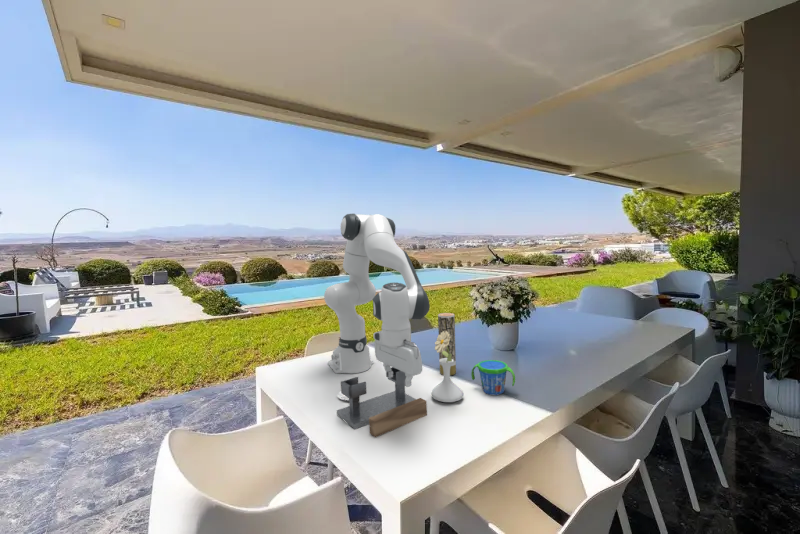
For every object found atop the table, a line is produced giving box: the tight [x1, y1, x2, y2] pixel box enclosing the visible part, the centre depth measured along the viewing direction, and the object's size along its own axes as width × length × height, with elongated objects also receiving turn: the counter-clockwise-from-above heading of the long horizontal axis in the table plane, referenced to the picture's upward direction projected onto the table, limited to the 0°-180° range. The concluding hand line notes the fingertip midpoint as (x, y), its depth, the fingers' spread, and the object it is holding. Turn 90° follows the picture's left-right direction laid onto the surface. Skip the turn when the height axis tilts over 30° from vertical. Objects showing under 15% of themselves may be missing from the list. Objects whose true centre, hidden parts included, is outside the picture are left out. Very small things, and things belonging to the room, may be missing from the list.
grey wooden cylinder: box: [437, 312, 457, 377], centre depth 151 cm, size 7×7×25 cm
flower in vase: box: [430, 331, 464, 403], centre depth 126 cm, size 13×11×25 cm
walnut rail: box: [368, 397, 428, 438], centre depth 111 cm, size 3×20×5 cm, turn 128°
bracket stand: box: [336, 367, 417, 430], centre depth 121 cm, size 12×25×12 cm, turn 126°
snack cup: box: [470, 359, 516, 396], centre depth 132 cm, size 16×10×10 cm
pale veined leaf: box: [337, 390, 345, 401], centre depth 132 cm, size 8×12×2 cm, turn 28°
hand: (398, 381), depth 111 cm, fingers open, 8 cm apart
